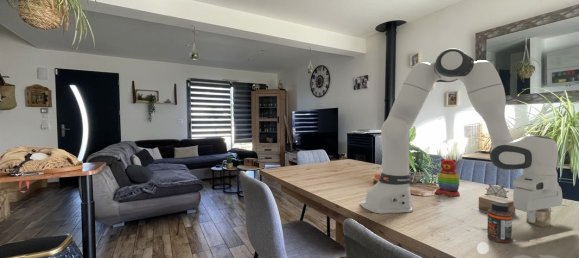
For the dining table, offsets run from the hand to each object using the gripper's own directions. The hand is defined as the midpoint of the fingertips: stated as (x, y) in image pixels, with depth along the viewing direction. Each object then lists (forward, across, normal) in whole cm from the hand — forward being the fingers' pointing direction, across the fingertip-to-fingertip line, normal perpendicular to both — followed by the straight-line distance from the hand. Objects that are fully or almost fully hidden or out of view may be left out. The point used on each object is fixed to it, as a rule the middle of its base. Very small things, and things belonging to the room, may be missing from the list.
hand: (538, 220), depth 91 cm
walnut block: (+1, +1, -13) cm, 13 cm away
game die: (+2, -16, -24) cm, 29 cm away
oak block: (+2, 0, 0) cm, 2 cm away
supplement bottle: (+2, +23, +2) cm, 23 cm away
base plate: (+2, +1, -13) cm, 13 cm away
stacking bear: (+2, -7, -41) cm, 42 cm away
